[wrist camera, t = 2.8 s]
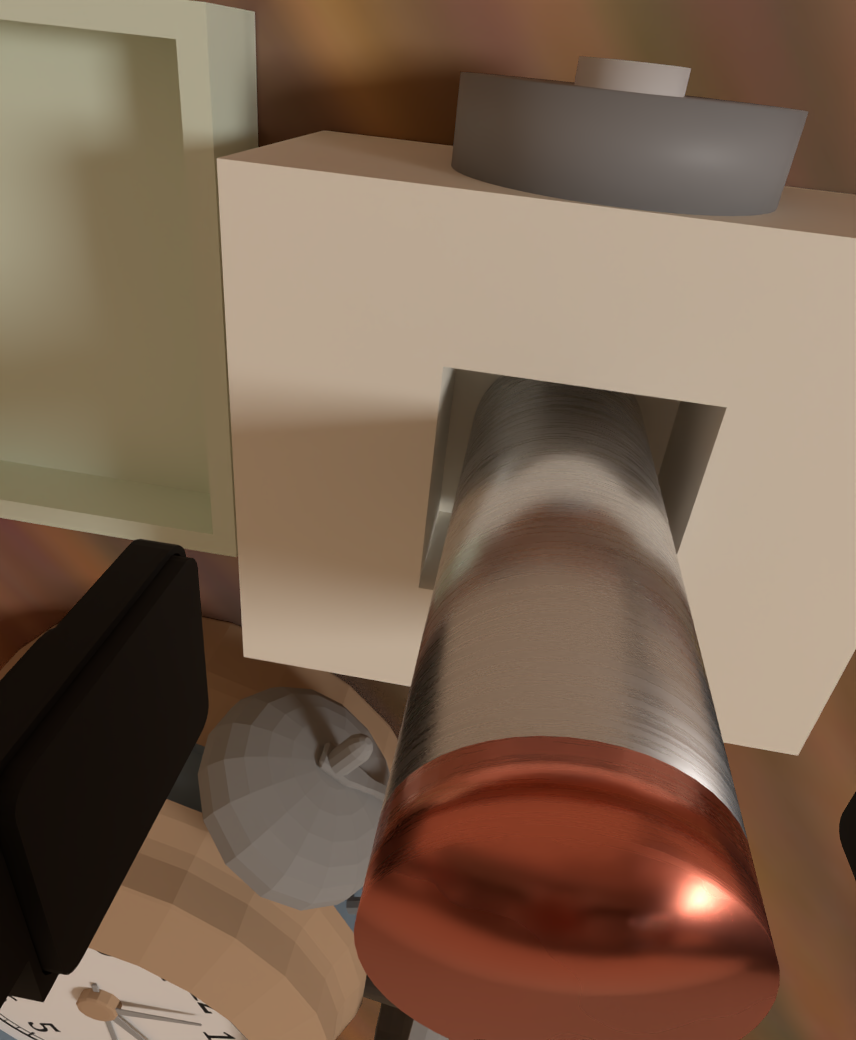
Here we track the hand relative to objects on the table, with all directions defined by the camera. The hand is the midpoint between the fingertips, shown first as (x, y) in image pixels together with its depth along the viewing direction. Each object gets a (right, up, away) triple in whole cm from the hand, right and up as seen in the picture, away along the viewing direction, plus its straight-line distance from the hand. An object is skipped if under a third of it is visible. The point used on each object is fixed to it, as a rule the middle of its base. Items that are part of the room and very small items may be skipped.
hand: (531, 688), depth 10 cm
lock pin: (+1, +4, +6) cm, 7 cm away
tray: (-11, +9, +9) cm, 17 cm away
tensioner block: (+2, +6, +8) cm, 10 cm away
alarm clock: (-7, -7, +18) cm, 21 cm away
